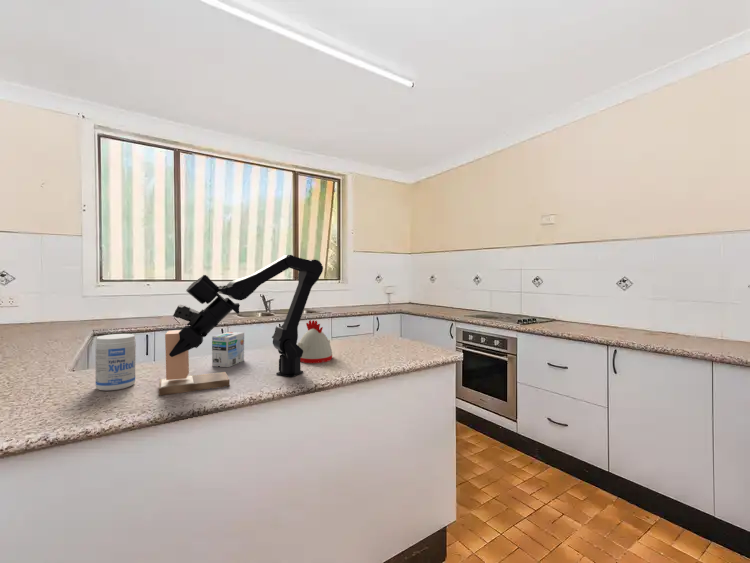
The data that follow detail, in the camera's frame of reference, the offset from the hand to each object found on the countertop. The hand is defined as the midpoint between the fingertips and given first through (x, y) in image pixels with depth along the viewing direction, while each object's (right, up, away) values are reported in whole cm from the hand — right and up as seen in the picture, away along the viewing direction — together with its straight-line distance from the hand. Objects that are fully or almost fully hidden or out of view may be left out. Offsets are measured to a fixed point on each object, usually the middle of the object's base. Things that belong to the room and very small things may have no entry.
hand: (172, 353), depth 105 cm
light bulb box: (+5, -9, +29) cm, 31 cm away
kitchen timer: (+34, -10, +38) cm, 52 cm away
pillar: (+1, -7, +1) cm, 7 cm away
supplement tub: (-17, -10, +2) cm, 20 cm away
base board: (+5, -10, +3) cm, 12 cm away
